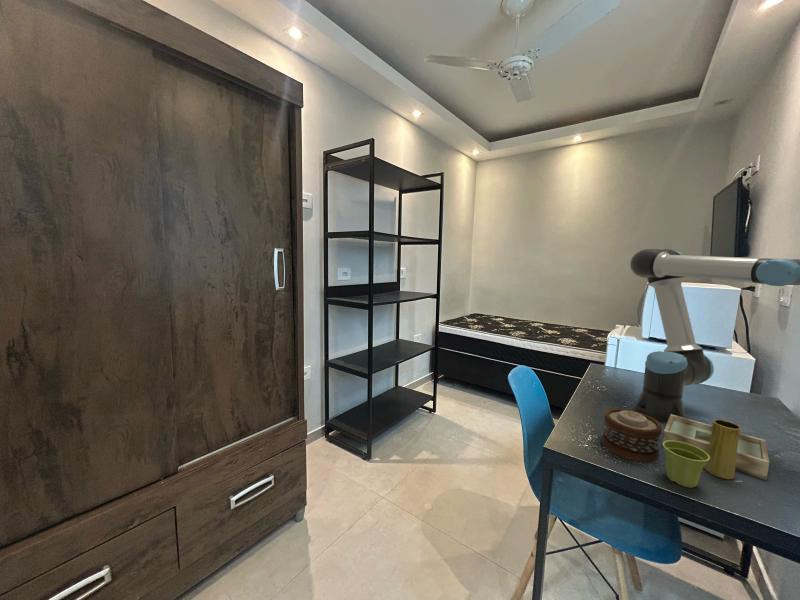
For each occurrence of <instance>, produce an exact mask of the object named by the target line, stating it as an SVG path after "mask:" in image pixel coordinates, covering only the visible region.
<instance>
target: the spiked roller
mask: <svg viewBox="0 0 800 600" xmlns="http://www.w3.org/2000/svg"><path fill="white" fill-rule="evenodd" d="M603 423H604V425H603V426H604V427H605V428H603V433H602V444H603V446H605V448H607V450H609V451H610V452H612V453H614V454H616V455H618V456H619V457H622V456H623V458H625V457H626V458H625V459H628V458H629V459H628V460H631V459H632V460H631V461H635V460H636V461H637V462H644V463H646V462H648V463H651V462H654V461H657V460H658V458H659V453H660V449H659V447H660V446H661V443H660V442H659V441H662V438H661V437H660V436H661V435H662V431H663V426H662V424H661V422H659V421H657V420H655V419H654V418H652V417H650V416H648V415H645V414H642V413H640V412H637V411H636V410H633V409H632V410H631V409H625V408H610V409H607V410H606V411H605V412H604V421H603Z"/></svg>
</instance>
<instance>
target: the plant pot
mask: <svg viewBox="0 0 800 600" xmlns="http://www.w3.org/2000/svg"><path fill="white" fill-rule="evenodd" d="M662 443H663V444H662ZM662 443H661V444H662V445H663V446H662V447H663V449H664V453H665V465H666V466H665V467H666V477H667V478H668V479H669V481H671V482H675V483H676V484H678V485H679V486H681V485H682V486H681V487H685V488H692V489H693V487H694V488H696V487H697V486H698V484H699V481H700V478H701V475H702V472H703V470H704V465H705V464H706V463H707V461H709V460H710V456H709V455H708V454H707V453H706V452H705V451H703V450H702V449H700V448H698V447H696V446H693V445H690V444H687V443H684V442H680V441H673V440H668V441H664V442H663V441H662Z"/></svg>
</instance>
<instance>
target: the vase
mask: <svg viewBox="0 0 800 600" xmlns="http://www.w3.org/2000/svg"><path fill="white" fill-rule="evenodd" d="M739 433H741V426H740V425H738V424H736V423H734V422H732V421H729V420H725V419H714V420H713V421H712V433H711V439H710V445H709V449H708V453H707V454H708V455H709V456H710V460H709V461H707V463H706V464H705V465H704V467H703V469H704V470H705V471H707V472H708V473H709V474H710V475H713V476H715V477H717V478H719V479H720V478H721V479H723V478H724V480H734V479H735V478H736V475H735V473H736V470H735V467H736V456H737V448H738V440H739Z"/></svg>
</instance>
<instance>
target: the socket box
mask: <svg viewBox="0 0 800 600" xmlns="http://www.w3.org/2000/svg"><path fill="white" fill-rule="evenodd" d="M665 425H666V426H665V428H664V430H663V437H662V443H661V444H663V442H664V441H668V440H673V441H680V442H684V443H687V444H690V445H693V446H696V447H698V448H700V449H702V450H703V451H705V452H706V453H708V449H709V445H710V439H711V433H712V426H713V424H712V425H711V424H707V423H704V422H701V421H698V420H693V419H689V418H687V417H686V418H683V417H679V416H676V415H672V414H671V415H670V417H669V420H668V422H667V423H666V424H665ZM662 447H663V445H662ZM769 467H770V458H769V454H768V447H767V442H766V439H763V438H760V437H756V436H751V435H748V434H745V433H741V432H740V433H739V440H738V448H737V456H736V467H735V471H737V472H741V473H743V474H747V475H749V476H753V477H756V478H758V479H762V480H764V481H767V479H768V473H769Z"/></svg>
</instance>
